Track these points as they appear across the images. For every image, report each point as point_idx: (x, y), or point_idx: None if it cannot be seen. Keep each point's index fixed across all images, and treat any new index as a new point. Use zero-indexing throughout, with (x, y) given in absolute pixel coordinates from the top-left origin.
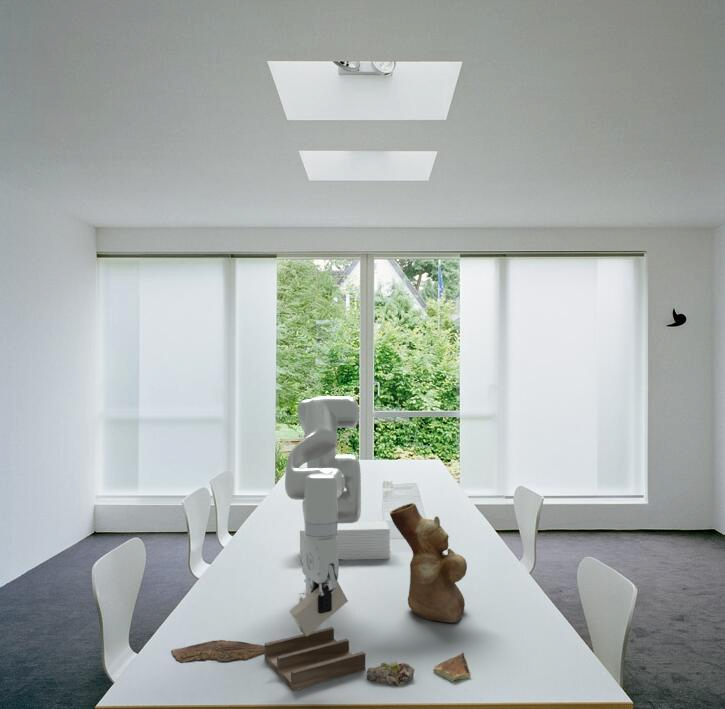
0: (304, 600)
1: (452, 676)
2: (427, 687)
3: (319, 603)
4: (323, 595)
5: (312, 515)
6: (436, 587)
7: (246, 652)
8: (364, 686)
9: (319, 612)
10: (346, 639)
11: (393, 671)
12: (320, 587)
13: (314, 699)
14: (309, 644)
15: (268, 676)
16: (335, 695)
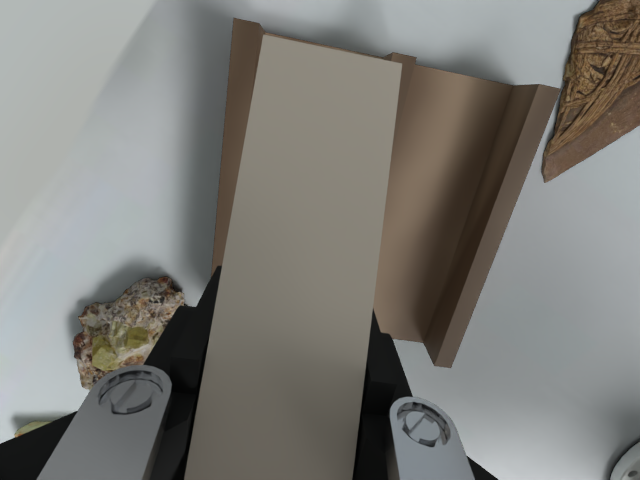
0: (349, 235)
1: (21, 433)
2: (34, 363)
3: (198, 310)
4: (109, 392)
5: None
6: None
7: (618, 56)
8: (131, 242)
9: (216, 268)
10: None
11: (98, 339)
12: (99, 471)
13: (146, 58)
14: (452, 262)
15: (402, 18)
16: (131, 136)
